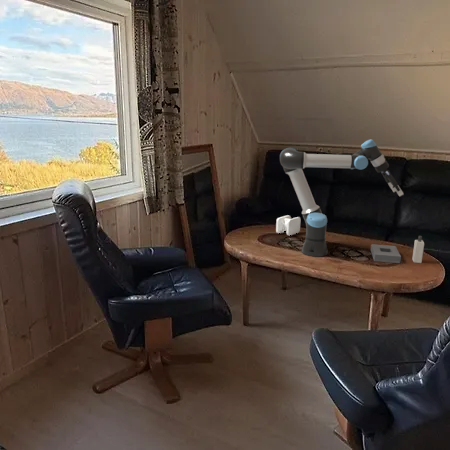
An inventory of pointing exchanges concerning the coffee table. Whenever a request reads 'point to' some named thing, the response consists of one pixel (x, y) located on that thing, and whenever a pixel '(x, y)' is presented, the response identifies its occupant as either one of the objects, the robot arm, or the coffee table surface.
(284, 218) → the cable organizer
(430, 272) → the coffee table surface
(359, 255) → the coffee table surface
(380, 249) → the socket panel
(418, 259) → the plug
